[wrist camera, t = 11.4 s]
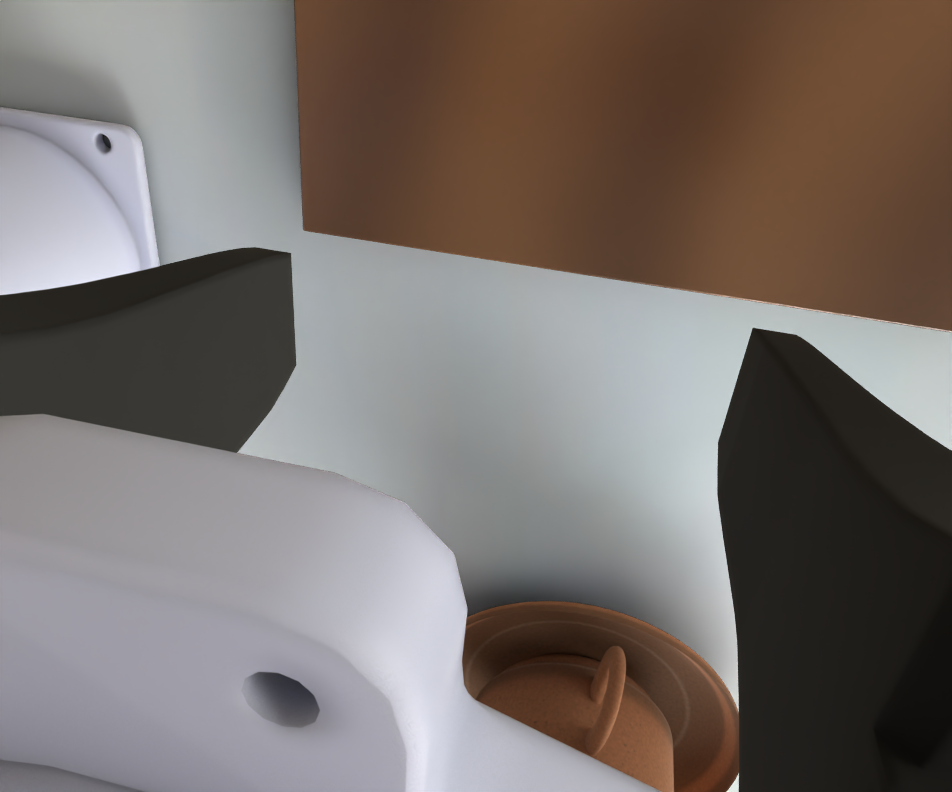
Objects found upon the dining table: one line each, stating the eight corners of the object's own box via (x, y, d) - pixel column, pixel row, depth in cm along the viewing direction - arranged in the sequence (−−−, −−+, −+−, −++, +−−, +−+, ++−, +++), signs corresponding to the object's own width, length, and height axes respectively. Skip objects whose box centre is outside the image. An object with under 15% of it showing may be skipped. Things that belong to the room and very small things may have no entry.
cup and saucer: (400, 561, 28) (339, 702, 23) (748, 579, 25) (769, 746, 20) (447, 768, 34) (407, 919, 29) (734, 803, 31) (747, 977, 26)
